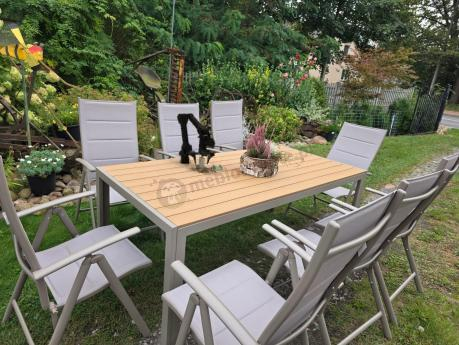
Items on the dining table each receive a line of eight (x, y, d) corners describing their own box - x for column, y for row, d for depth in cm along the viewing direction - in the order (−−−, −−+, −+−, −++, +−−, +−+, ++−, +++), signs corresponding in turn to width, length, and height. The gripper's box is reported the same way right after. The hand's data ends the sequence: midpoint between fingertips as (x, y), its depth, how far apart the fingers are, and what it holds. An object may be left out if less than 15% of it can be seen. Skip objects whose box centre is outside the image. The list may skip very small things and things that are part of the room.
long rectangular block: (200, 170, 225) (200, 158, 222) (198, 167, 230) (199, 156, 228) (204, 170, 226) (204, 158, 223) (202, 167, 231) (202, 156, 229)
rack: (198, 171, 222) (199, 169, 222) (195, 166, 232) (195, 164, 231) (206, 170, 224) (206, 169, 224) (203, 166, 234) (203, 164, 233)
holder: (214, 170, 227) (214, 167, 226) (211, 166, 235) (211, 163, 234) (223, 170, 229) (224, 167, 229) (220, 166, 238) (220, 163, 237)
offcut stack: (198, 173, 219) (198, 170, 218) (197, 171, 221) (198, 168, 221) (209, 173, 221) (209, 170, 220) (208, 171, 224) (208, 168, 223)
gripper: (192, 147, 212) (191, 167, 217) (217, 147, 218) (215, 167, 223) (189, 143, 222) (188, 163, 227) (213, 143, 228) (212, 163, 233)
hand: (201, 164), depth 227 cm, fingers open, 9 cm apart
